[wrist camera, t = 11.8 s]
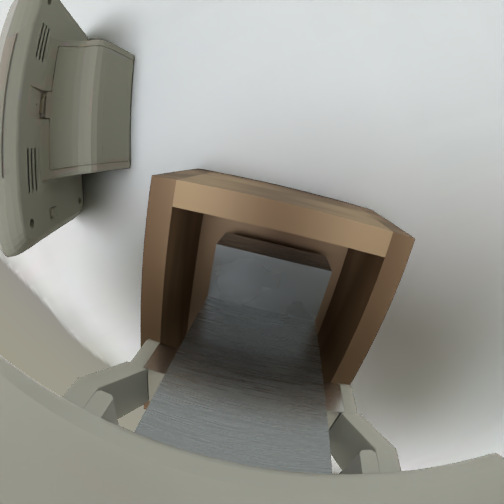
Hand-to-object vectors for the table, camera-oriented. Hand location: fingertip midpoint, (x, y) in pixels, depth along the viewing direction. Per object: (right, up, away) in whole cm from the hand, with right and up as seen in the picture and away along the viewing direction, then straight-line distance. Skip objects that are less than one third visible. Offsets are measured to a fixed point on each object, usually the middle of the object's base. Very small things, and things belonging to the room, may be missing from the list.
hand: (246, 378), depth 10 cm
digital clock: (-10, +14, +5) cm, 18 cm away
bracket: (+1, +2, +5) cm, 5 cm away
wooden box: (+1, +2, +7) cm, 8 cm away
